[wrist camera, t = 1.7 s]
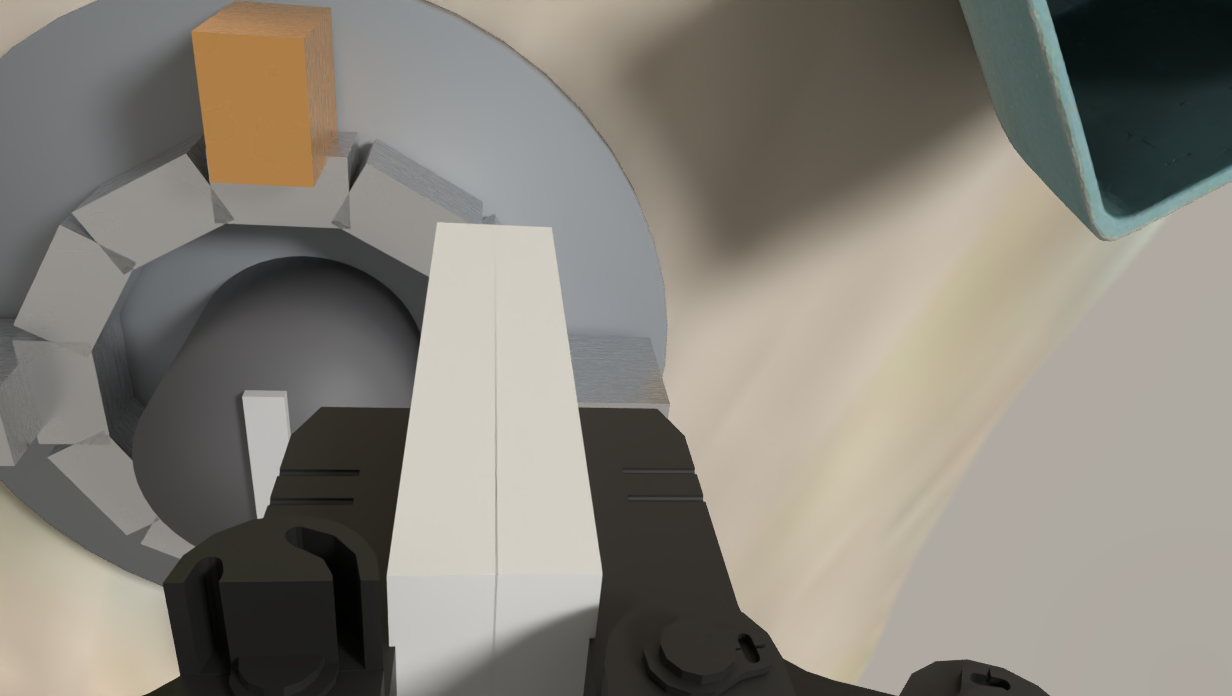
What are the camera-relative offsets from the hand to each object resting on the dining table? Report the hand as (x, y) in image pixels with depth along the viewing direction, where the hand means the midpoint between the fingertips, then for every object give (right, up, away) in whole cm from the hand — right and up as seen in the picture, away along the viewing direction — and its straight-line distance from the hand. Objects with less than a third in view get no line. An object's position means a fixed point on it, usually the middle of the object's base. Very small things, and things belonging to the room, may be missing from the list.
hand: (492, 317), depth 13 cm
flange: (-8, 0, +18) cm, 20 cm away
